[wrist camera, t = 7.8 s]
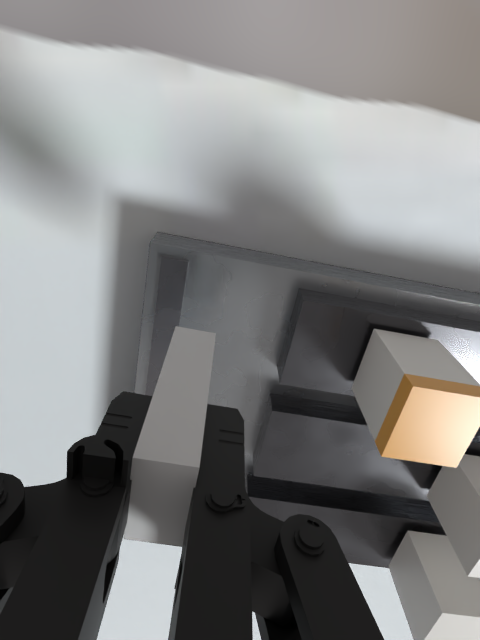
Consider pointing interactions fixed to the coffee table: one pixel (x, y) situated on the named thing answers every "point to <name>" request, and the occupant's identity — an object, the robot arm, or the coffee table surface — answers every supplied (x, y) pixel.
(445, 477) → the block
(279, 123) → the coffee table surface
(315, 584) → the robot arm
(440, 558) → the block
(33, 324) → the coffee table surface
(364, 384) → the block
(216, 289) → the panel
